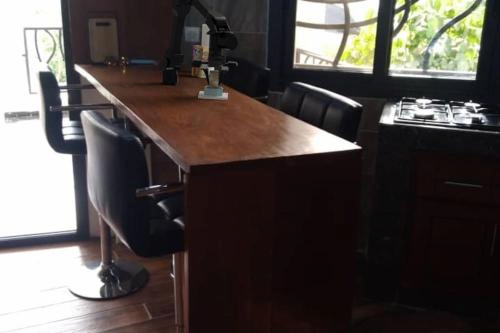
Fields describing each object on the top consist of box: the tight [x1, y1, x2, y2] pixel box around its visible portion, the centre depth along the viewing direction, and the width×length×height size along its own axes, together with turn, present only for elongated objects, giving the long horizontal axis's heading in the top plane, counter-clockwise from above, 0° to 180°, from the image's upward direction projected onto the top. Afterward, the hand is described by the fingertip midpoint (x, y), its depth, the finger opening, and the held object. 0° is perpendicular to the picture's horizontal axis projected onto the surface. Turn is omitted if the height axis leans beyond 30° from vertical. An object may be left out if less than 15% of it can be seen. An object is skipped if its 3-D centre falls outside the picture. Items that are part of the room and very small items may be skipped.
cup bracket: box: [197, 85, 229, 101], centre depth 231 cm, size 12×12×4 cm
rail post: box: [208, 69, 220, 89], centre depth 230 cm, size 4×4×8 cm
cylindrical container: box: [201, 23, 215, 74], centre depth 291 cm, size 7×7×25 cm
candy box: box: [191, 44, 209, 79], centre depth 279 cm, size 9×4×15 cm, turn 39°
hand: (213, 85), depth 230 cm, fingers closed on rail post, 4 cm apart
